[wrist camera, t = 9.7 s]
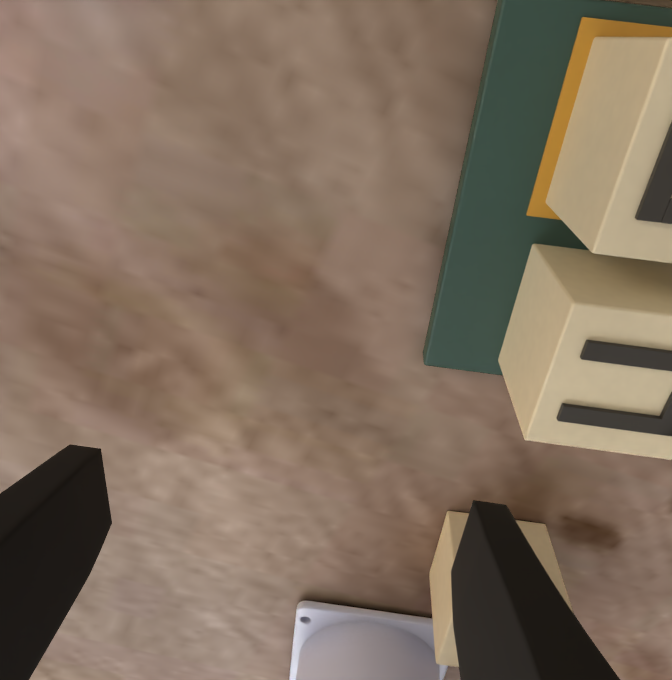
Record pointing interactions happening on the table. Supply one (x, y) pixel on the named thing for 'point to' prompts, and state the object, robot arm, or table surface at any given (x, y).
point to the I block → (442, 578)
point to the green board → (516, 166)
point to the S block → (620, 151)
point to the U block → (592, 352)
